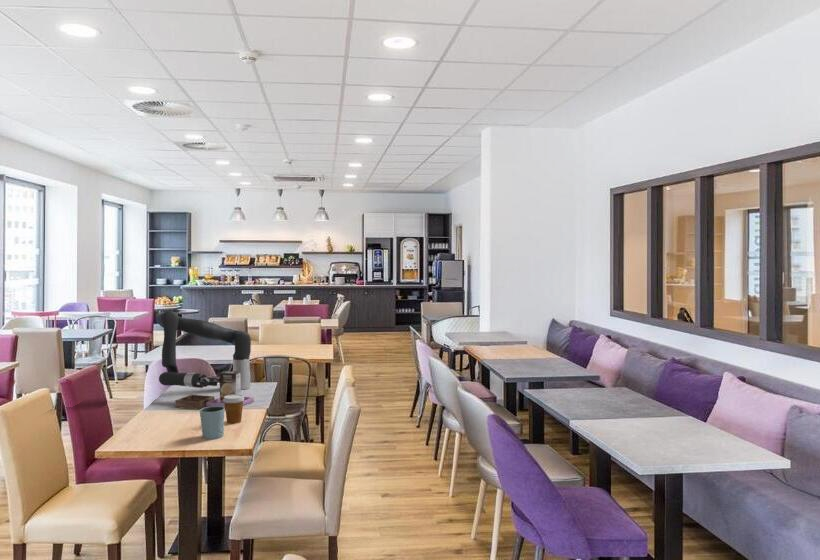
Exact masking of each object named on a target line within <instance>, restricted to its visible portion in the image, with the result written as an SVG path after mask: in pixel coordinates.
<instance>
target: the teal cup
mask: <svg viewBox="0 0 820 560" xmlns="http://www.w3.org/2000/svg"><path fill="white" fill-rule="evenodd" d="M225 413H226V412H225V408H224V407H222V406H209V407H203V408H201V409H199V416H200V424H201V433H202V434H201V435H202V439H204V440H217V439H221V438H223V437H224V435H225V434H224V431H225V421H224V420H225Z"/></svg>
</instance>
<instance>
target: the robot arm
mask: <svg viewBox="0 0 820 560" xmlns="http://www.w3.org/2000/svg"><path fill="white" fill-rule="evenodd" d="M157 323H158V325H159V326H160V327H162V328H163V342H162V347H161V348H162V349H161V366H162V367H163V368H166V371H164V372H162V373H160V374H159V377H158V382H159V383H160V384H161V385H163V386H181V387H189V388H195V389H196V388H197V389H198V388H199V389H203V388H204V387H205V388H206V387H211V386H212V387H217V386H218V383H220V375H219V376H218V375H215V376H214V375H212V376H207V375H206V374H205V373H203V372H202V373H201V372H179V369H178V366H177V354H176V348H177V344H176V342H177V332H178V331H180V332H184V333H186V334H190V335H192V336H196V337H200V338H203V339H207V340H213V341H223V342H226V343H229V344H231V345H233V346H234V353H233V355H232V366H233V367H232V371H240V372H241V391H242V390H247V389H250V388H251V370H250V368H251V367H250V366H251V364H250V355H251V352H252V351H251V350H252V349H251V347H252V345H251V343H252V342H251V341H252V340H251V339H252V338H251V335H250V334H249V333H248V332H246V331H242V330H235V329H232V328H231V329H230V328H226V327H223V326H221V325H219V324H215V322H211V321H206V320H202V319H195V318H186V317H182V316H180V315H178V313H176V312H175V311H173V310H166V311H163V312H161V313H160V314H159V315H158V317H157Z"/></svg>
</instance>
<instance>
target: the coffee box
mask: <svg viewBox="0 0 820 560" xmlns="http://www.w3.org/2000/svg"><path fill="white" fill-rule="evenodd" d="M219 376H220V382H219V398H220V403H223V404H224V401H223V399H224V396H227V395H232V394H240V395H242V393H241V391H242V390H241V372H240V371H233V370H223V371H221V372H220V373H219Z"/></svg>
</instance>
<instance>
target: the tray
mask: <svg viewBox="0 0 820 560" xmlns="http://www.w3.org/2000/svg"><path fill="white" fill-rule="evenodd" d="M243 397H244V401H243V406H244V405H246V406H248V405H250V404H253V403H254V402H255V400H254V399H255V397H254V396H244V395H243ZM252 402H253V403H252ZM247 404H248V405H247ZM209 406H222V407H224V408H225V404H223V403H220V397H217V398H214V400H212V401H209V402H207V403H206V407H209ZM244 407H245V406H244Z"/></svg>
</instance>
